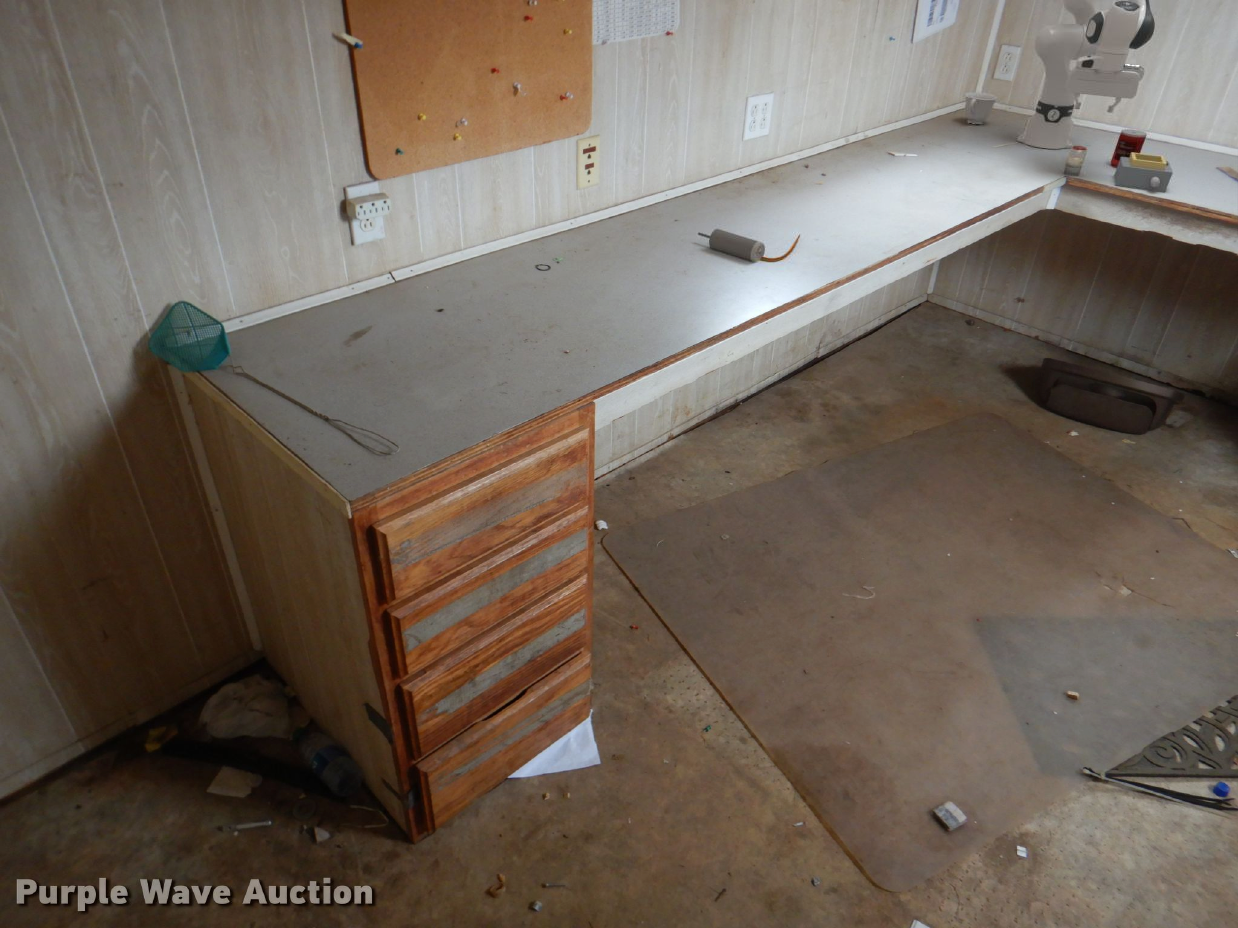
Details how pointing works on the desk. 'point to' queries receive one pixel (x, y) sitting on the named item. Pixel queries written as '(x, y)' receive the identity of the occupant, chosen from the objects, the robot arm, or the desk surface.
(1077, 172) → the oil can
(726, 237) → the motor
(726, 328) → the desk surface
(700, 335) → the desk surface
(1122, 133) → the canned food
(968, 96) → the teacup
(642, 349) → the desk surface
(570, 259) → the desk surface
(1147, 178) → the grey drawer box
